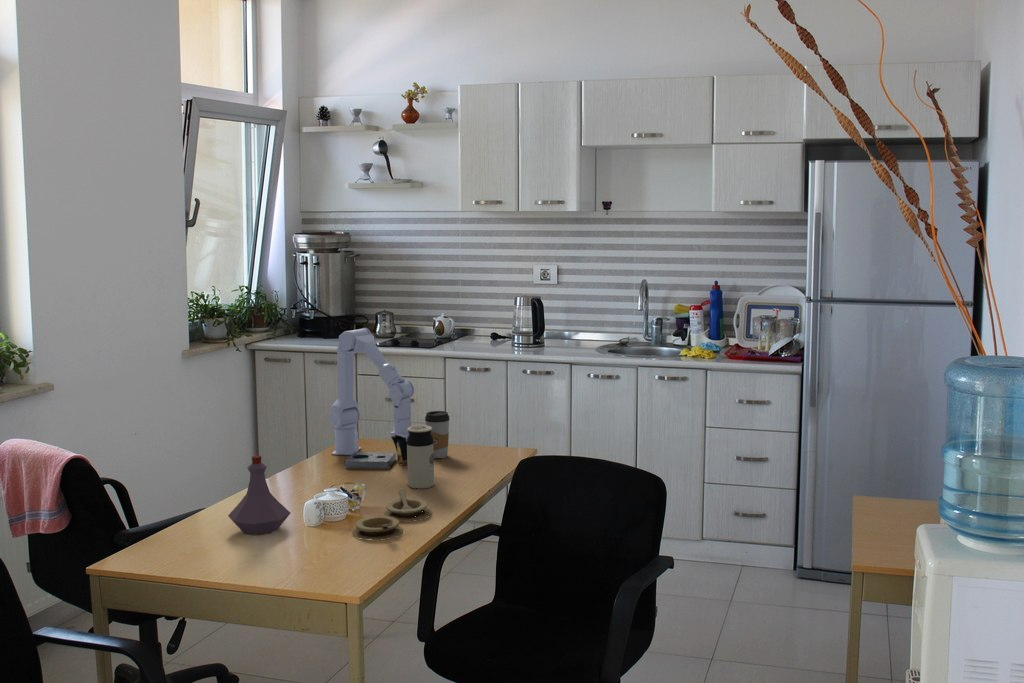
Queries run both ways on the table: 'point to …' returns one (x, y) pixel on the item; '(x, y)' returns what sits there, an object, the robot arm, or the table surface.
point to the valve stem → (399, 458)
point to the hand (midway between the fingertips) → (403, 458)
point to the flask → (258, 505)
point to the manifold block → (370, 460)
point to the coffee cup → (439, 431)
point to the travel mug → (420, 457)
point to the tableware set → (391, 518)
